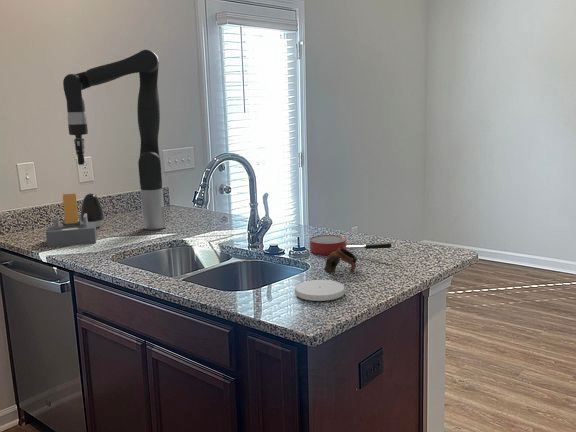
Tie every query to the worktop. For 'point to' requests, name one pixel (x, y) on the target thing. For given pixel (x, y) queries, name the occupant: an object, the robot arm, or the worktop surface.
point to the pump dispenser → (92, 210)
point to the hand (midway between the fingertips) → (81, 163)
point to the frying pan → (337, 244)
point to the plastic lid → (319, 290)
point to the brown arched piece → (335, 258)
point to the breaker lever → (70, 210)
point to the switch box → (71, 233)
